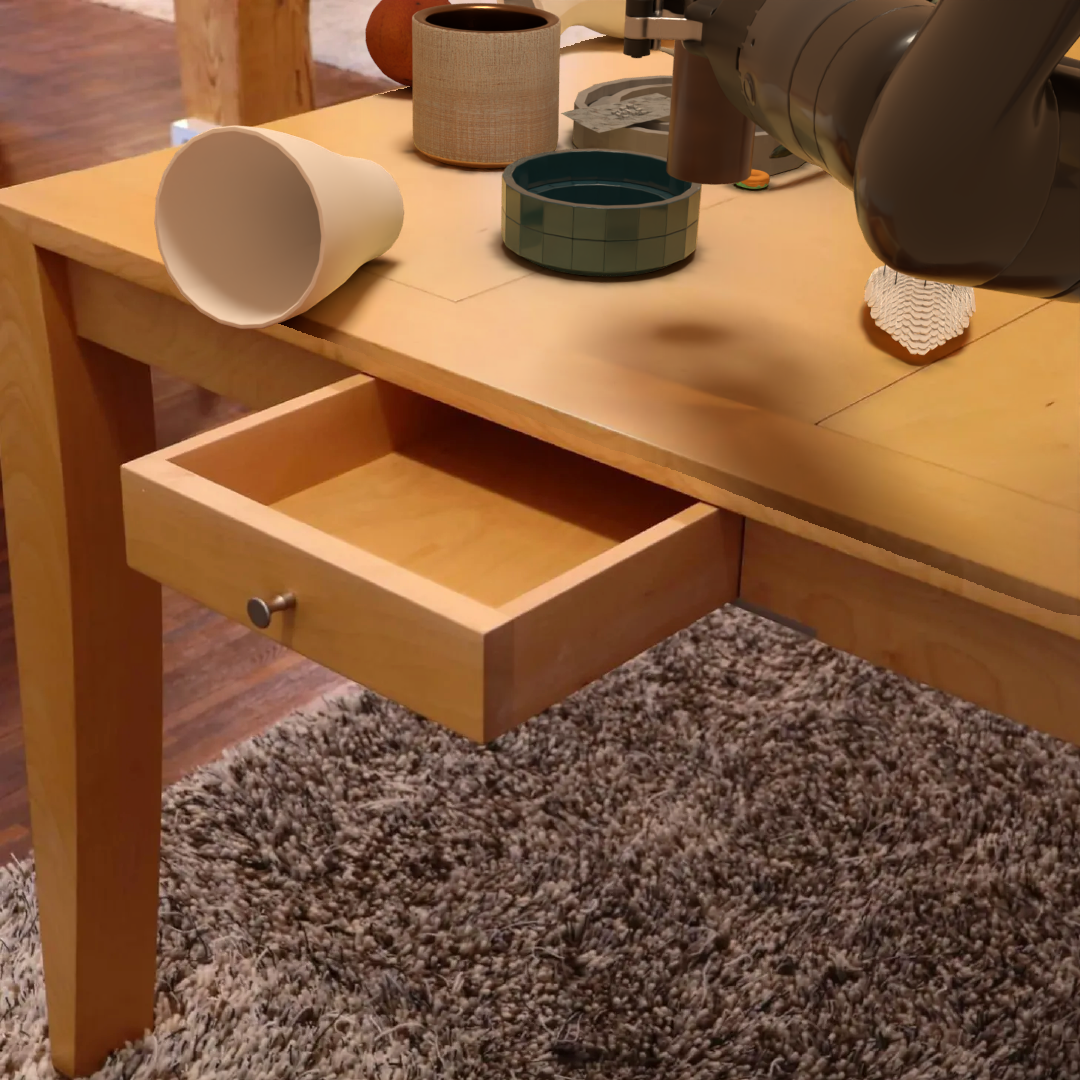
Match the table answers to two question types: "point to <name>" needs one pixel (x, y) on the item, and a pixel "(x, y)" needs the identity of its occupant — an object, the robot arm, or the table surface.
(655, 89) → the mechanical component
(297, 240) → the cup
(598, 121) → the business card
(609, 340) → the table surface
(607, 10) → the vase
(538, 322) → the table surface
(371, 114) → the table surface
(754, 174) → the donut
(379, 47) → the fruit
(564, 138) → the table surface
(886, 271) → the pincushion
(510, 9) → the planter
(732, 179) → the rolling pin
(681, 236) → the bowl
